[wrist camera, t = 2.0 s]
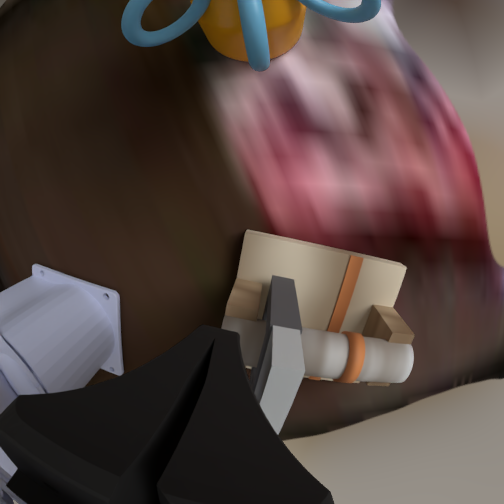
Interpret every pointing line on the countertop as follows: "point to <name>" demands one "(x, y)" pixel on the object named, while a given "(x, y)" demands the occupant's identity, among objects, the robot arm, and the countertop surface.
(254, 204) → the countertop surface
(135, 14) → the yellow blue ringed piece
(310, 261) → the pipe rig
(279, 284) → the grey bent plate
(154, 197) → the countertop surface
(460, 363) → the countertop surface
